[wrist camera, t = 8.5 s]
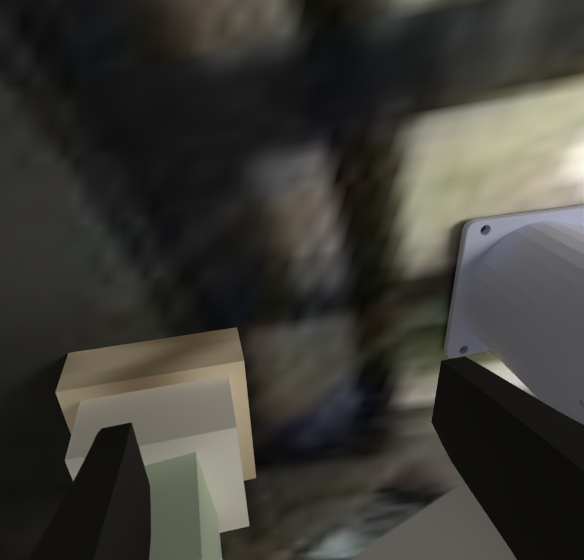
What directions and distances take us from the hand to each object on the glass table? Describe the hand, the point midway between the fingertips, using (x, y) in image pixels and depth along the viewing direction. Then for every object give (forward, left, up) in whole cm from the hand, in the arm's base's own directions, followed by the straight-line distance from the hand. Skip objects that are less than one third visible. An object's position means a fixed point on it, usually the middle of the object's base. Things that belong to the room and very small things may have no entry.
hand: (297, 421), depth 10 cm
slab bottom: (+4, +8, -11) cm, 14 cm away
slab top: (+4, +8, -8) cm, 12 cm away
